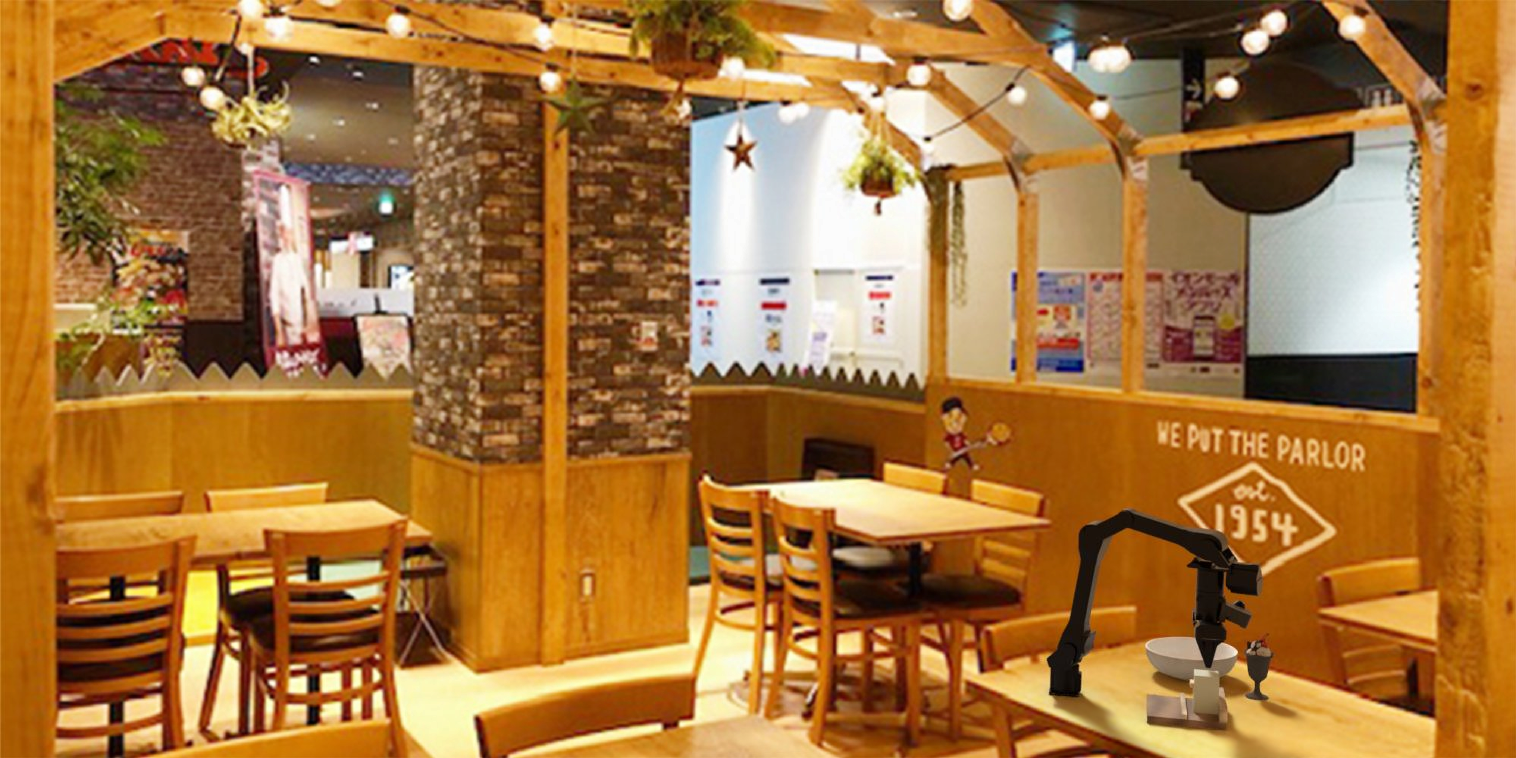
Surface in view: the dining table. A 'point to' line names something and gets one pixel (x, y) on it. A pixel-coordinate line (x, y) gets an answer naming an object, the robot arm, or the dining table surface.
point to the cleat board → (1185, 712)
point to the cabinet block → (1205, 691)
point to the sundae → (1258, 665)
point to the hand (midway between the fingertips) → (1207, 662)
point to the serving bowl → (1187, 657)
